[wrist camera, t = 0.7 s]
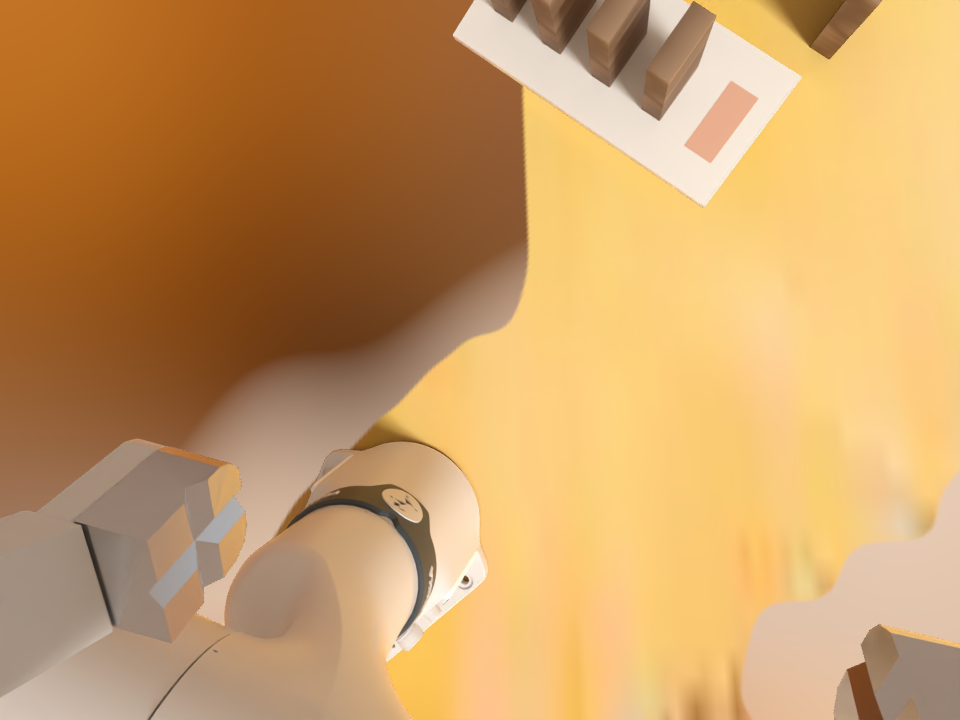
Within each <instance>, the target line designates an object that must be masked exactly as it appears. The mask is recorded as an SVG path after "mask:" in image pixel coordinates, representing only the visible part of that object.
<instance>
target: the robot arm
mask: <svg viewBox="0 0 960 720" xmlns="http://www.w3.org/2000/svg"><path fill="white" fill-rule="evenodd" d="M241 487H242V485H241V479H240V473H239V468H238V467H236V466H234V465H232V464H230V463H227V462H224V461H220V460H216V459H213V458H209V457H205V456H202V455H198V454H195V453H191V452H188V451H184V450H180V449H177V448H173V447H170V446H168V447H167V446H163V445H159V444H156V443H152V442H149V441H145V440H141V439H138V438H137V439H133V440H130V441H126V442H124V443H122V444H121V445H120V446H119V447H117V448H116V449H115V450H114V451H112V452H111V453H110V454H109V455H107V456H106V457H105V458H104V459H102V460H101V461H100V462H99V463H97V464H96V465H95V466H93V467H92V468H91V469H90V470H88V471H87V472H86V473H85V474H84V475H82V476H81V477H80V478H78V479H77V480H76V481H75V482H73V483H72V484H71V485H70V486H68V487H67V488H66V489H65V490H63V491H62V492H61V493H60V494H58V495H57V496H56V497H55V498H53V499H52V500H51V501H50V502H48V503H47V504H46V505H45V506H43V507H42V508H41V509H39V510H38V511H37V512H33V511H29V510H23V511H20V512H17V513H15V514H11V515H9V516H6V517H3V518H0V720H414V719H413V718H412V717H411V715H410V714H409V712H408V711H407V709H406V708H405V707H404V705H403V703H402V701H401V700H400V698H399V696H398V695H397V692H396V690H395V688H394V686H393V684H392V681H391V678H390V676H389V673H388V669H387V665H386V662H387V661H389V660H390V659H391V658H392V657H394V656H395V655H396V654H397V653H398V652H400V651H401V650H402V649H403V650H404V651H406V652H407V651H409V650H410V649H411V648H412V647H413V646H414V645H415V644H416V643H417V642H418V641H419V640H420V638H421V637H422V636H423V634H424V632H423V631H425V630H426V629H427V628H428V627H429V626H431V625H432V624H433V623H434V622H435V621H437V620H438V619H439V618H440V617H441V616H443V615H444V614H445V613H446V612H447V611H448V610H450V609H451V608H452V607H453V606H454V605H456V604H457V603H458V602H459V601H460V600H462V599H463V598H464V597H465V596H466V595H468V594H469V593H470V592H471V591H472V590H474V589H475V588H476V587H477V586H478V585H479V584H481V583H482V582H483V580H484V579H485V578H486V576H487V574H488V566H487V562H486V558H485V556H484V553H483V551H482V548H481V546H480V540H479V531H480V515H479V508H478V503H477V500H476V497H475V494H474V491H473V489H472V487H471V485H470V483H469V481H468V480H467V478H466V477H465V475H464V474H463V473H462V471H461V470H460V469H459V468H458V467H457V466H456V465H455V464H454V463H453V462H452V461H451V460H450V459H449V458H447V457H446V456H444V455H443V454H441V453H440V452H438V451H436V450H434V449H432V448H430V447H428V446H425V445H421V444H418V443H413V442H390V443H385V444H381V445H378V446H375V447H372V448H370V449H366V450H362V451H358V450H348V449H340V450H335V451H333V452H331V453H330V454H329V455H328V456H327V457H326V459H325V461H324V463H323V466H322V468H321V471H320V473H319V475H318V478H317V480H316V483H314V485H313V486H312V487H311V489H310V491H311V495H310V497H309V499H308V502H307V504H306V507H305V508H304V509H303V510H302V511H301V512H300V513H299V514H298V515H297V516H296V517H295V519H294V520H293V521H292V522H291V523H290V524H289V526H288V527H287V529H286V530H284V531H283V532H282V533H280V534H279V535H277V536H276V537H275V538H273V539H272V540H270V541H269V542H267V543H266V544H265V545H263V546H262V547H260V548H259V549H258V550H256V551H255V552H254V553H253V554H252V555H251V556H250V557H249V558H248V559H247V560H246V561H245V562H244V564H243V565H242V566H241V568H240V569H239V571H238V573H237V574H236V576H235V578H234V580H233V582H232V584H231V586H230V589H229V592H228V595H227V599H226V605H225V613H224V620H225V626H223V625H221V624H218V623H216V622H214V621H212V620H210V619H208V618H205V617H203V616H201V615H199V614H197V613H196V612H197V611H198V610H199V609H200V607H201V606H202V605H203V603H204V587H205V586H207V585H209V584H211V583H213V582H215V581H217V580H220V579H221V578H223V577H225V575H226V574H227V573H228V571H229V570H230V568H231V567H232V566H233V565H234V563H235V562H236V560H237V558H238V556H239V553H240V551H241V549H242V546H243V544H244V541H245V535H246V528H247V521H246V513H245V510H244V509H243V508H242V506H241V505H240V504H239V502H238V501H237V500H236V499H235V497H234V495H235V494H236V493H237V492H238V491H239V490H240V489H241ZM464 576H467V577H468V578H469V581H464V580H463V577H464ZM861 647H862V651H863V654H864V658H865V662H864V663H861V664H859V665H856V666H854V667H851V668H849V669H847V670H846V672H845V674H844V676H843V678H842V680H841V682H840V684H839V686H838V689H837V695H836V701H835V707H834V720H960V643H956V642H951V641H947V640H943V639H939V638H935V637H931V636H926V635H922V634H918V633H914V632H909V631H905V630H901V629H897V628H893V627H889V626H885V625H881V624H879V625H877V626H875V627H874V628H872V629H871V630H869V632H868V634H867V635H866V637H865V639H864V641H863V642H862V644H861Z"/></svg>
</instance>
